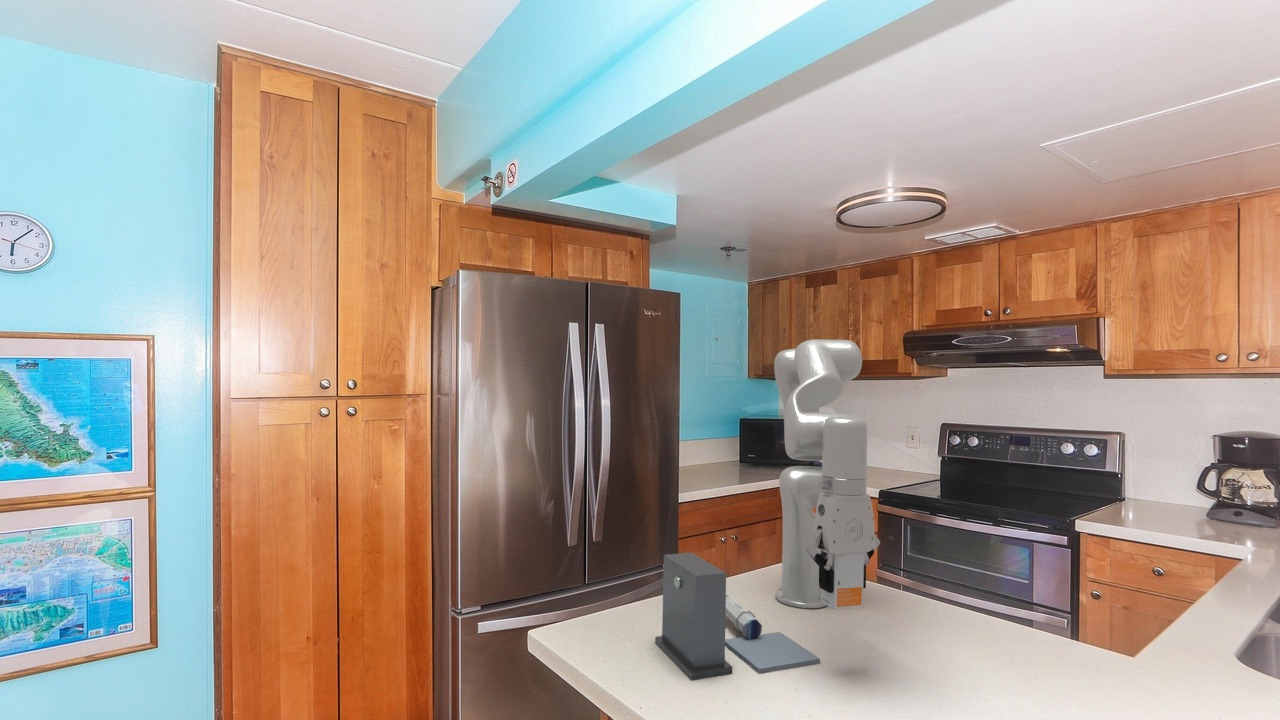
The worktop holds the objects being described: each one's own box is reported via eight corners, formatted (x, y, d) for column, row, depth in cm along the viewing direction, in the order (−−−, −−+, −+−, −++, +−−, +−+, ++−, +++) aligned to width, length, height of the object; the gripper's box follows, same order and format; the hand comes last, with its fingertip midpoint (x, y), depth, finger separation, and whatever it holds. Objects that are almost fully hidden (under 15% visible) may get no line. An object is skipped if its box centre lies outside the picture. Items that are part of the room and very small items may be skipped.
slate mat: (779, 635, 124) (779, 631, 124) (820, 663, 112) (820, 658, 112) (723, 644, 120) (723, 639, 120) (759, 673, 108) (759, 668, 108)
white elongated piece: (742, 620, 119) (692, 570, 143) (740, 653, 120) (690, 597, 143) (766, 617, 121) (712, 568, 145) (763, 650, 121) (711, 595, 145)
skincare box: (834, 611, 106) (835, 541, 106) (820, 602, 110) (821, 535, 110) (864, 608, 107) (865, 539, 108) (850, 599, 111) (850, 533, 112)
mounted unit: (692, 637, 122) (693, 550, 123) (732, 673, 107) (734, 574, 108) (655, 643, 119) (657, 553, 120) (691, 680, 105) (693, 578, 105)
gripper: (816, 493, 102) (815, 601, 102) (897, 488, 109) (896, 590, 108) (790, 485, 109) (788, 586, 109) (867, 480, 116) (866, 576, 115)
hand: (842, 587), depth 109 cm, fingers closed on skincare box, 6 cm apart
